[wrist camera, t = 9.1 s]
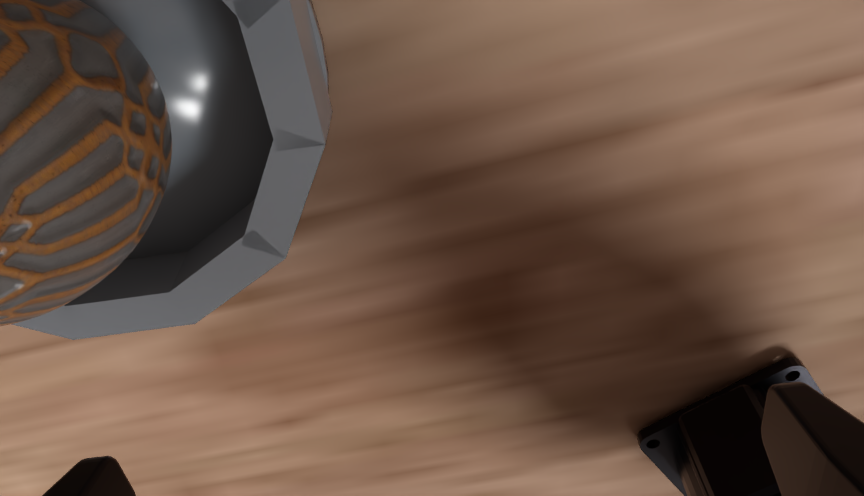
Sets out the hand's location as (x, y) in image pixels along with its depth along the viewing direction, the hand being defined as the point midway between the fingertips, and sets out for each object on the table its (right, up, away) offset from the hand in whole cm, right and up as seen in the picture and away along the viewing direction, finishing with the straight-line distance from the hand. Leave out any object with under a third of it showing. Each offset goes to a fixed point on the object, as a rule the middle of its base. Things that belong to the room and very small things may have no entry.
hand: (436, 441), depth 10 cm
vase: (-10, +7, +9) cm, 15 cm away
